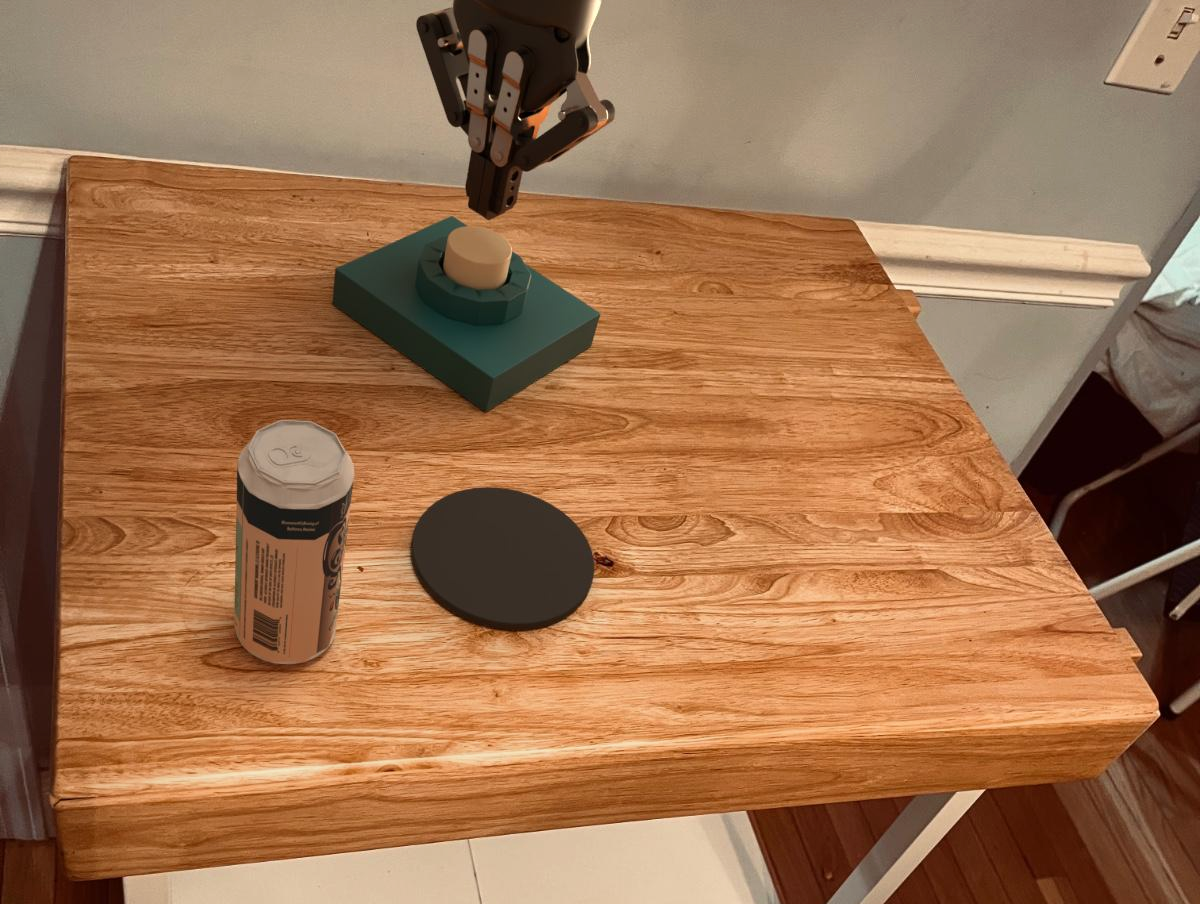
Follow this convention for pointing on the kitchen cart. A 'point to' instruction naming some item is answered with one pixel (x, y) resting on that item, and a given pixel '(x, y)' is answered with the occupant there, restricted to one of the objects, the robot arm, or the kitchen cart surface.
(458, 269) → the button
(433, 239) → the push button base
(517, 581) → the coaster
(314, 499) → the beer can
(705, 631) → the kitchen cart surface
